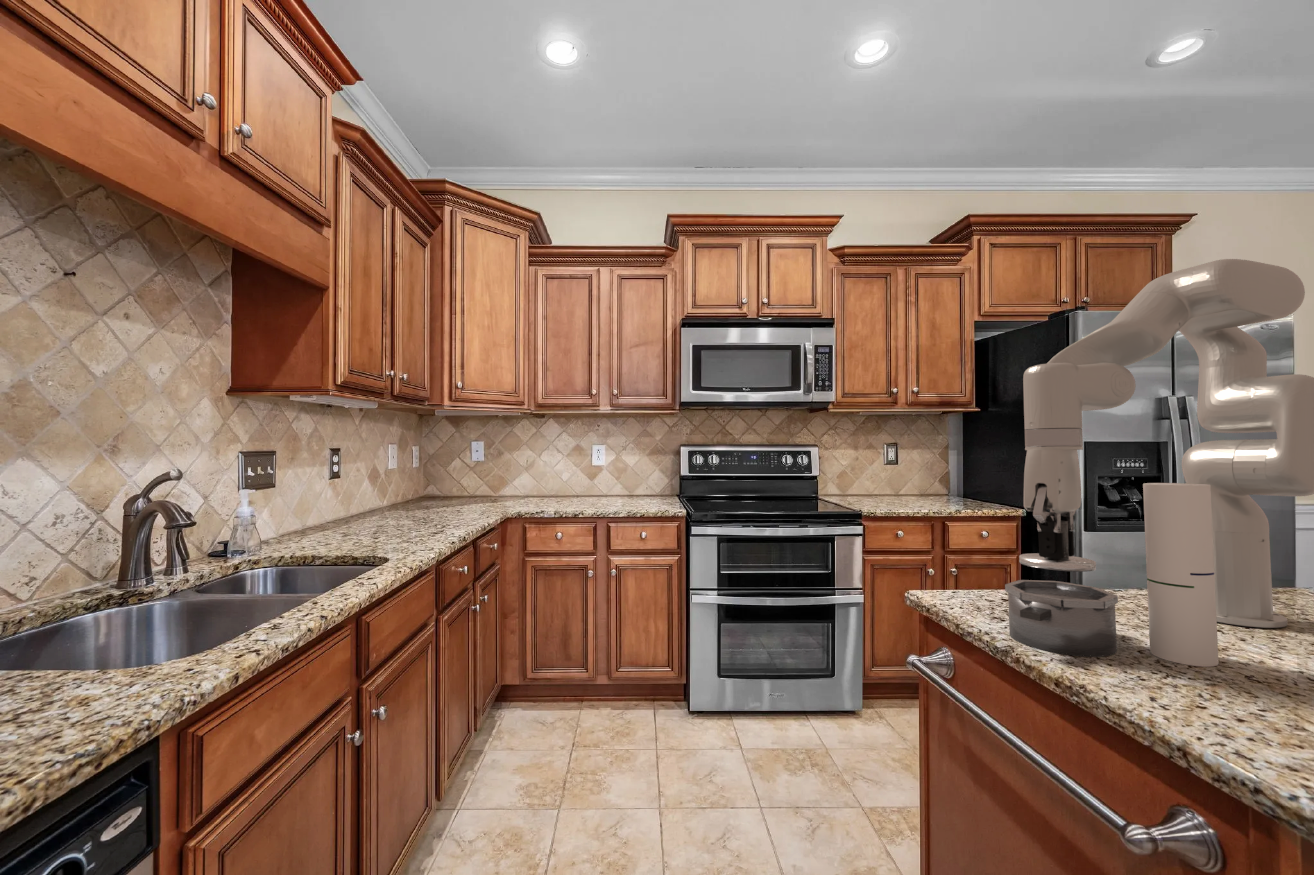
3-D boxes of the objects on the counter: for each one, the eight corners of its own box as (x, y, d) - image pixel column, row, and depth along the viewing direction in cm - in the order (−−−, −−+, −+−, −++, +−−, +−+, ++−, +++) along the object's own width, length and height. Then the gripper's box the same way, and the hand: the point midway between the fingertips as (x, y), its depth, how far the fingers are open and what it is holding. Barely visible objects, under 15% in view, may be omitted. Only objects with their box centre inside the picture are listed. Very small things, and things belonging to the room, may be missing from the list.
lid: (1034, 557, 93) (1033, 516, 94) (1105, 566, 85) (1104, 521, 86) (1008, 563, 88) (1007, 520, 88) (1081, 574, 80) (1080, 526, 80)
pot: (1040, 618, 98) (1038, 573, 98) (1138, 639, 87) (1136, 588, 87) (982, 642, 86) (980, 591, 86) (1087, 670, 75) (1085, 611, 75)
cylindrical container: (1233, 668, 75) (1224, 485, 76) (1172, 664, 76) (1164, 485, 77) (1193, 649, 82) (1185, 483, 83) (1138, 647, 83) (1131, 483, 84)
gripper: (1047, 442, 95) (1050, 548, 94) (1003, 441, 86) (1006, 558, 85) (1100, 441, 89) (1104, 554, 88) (1059, 439, 80) (1063, 566, 79)
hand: (1056, 555), depth 87 cm, fingers closed on lid, 3 cm apart
